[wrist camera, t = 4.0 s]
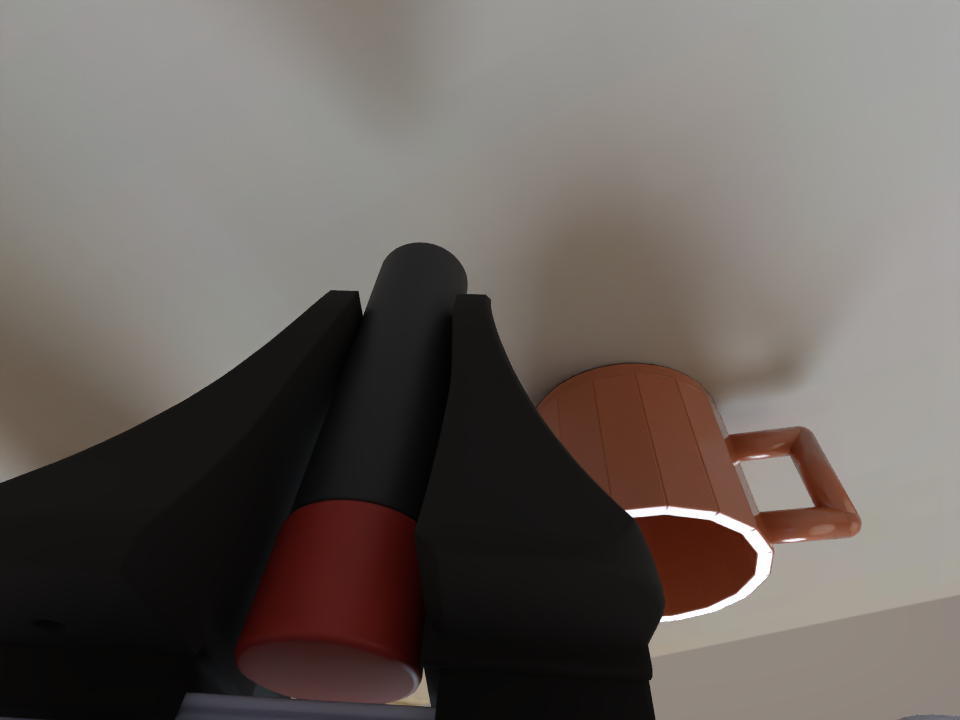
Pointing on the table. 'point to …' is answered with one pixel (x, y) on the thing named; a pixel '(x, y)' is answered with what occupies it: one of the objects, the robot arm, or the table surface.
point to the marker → (363, 504)
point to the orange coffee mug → (691, 480)
